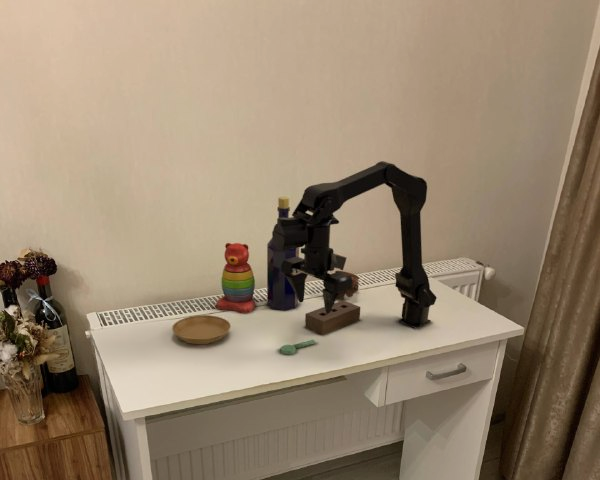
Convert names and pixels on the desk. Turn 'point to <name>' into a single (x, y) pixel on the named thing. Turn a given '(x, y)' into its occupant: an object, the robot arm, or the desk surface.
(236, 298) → the stacking bear
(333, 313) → the holder
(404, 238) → the robot arm
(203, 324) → the plant saucer
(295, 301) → the bottle
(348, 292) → the pottery mug
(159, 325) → the desk surface
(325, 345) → the desk surface
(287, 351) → the spoon
